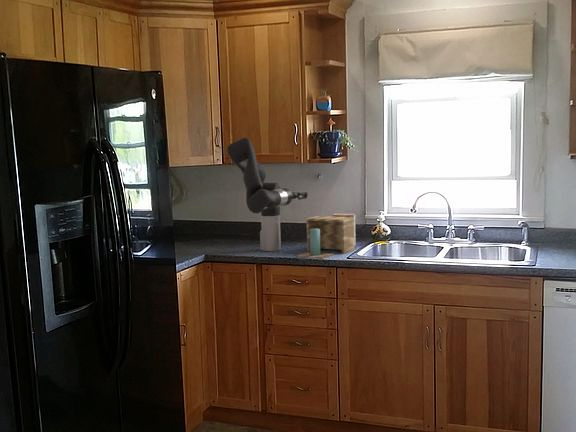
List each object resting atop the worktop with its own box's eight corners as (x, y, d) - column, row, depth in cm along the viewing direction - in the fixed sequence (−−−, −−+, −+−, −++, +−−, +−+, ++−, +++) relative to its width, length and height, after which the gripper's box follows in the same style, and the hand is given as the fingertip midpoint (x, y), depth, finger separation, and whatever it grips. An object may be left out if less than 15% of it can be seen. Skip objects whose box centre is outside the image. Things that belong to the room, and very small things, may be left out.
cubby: (307, 251, 343) (306, 218, 342) (318, 247, 353) (317, 215, 351) (344, 253, 333) (343, 220, 331) (354, 250, 343) (353, 217, 341)
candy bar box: (332, 247, 354) (331, 214, 353) (334, 245, 359) (333, 213, 357) (354, 247, 351) (353, 214, 350) (356, 245, 356) (355, 213, 354)
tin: (308, 255, 329) (307, 229, 328) (313, 253, 333) (312, 228, 332) (317, 255, 326) (316, 230, 325) (322, 254, 330) (321, 228, 329)
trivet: (295, 256, 328) (295, 255, 328) (308, 252, 339) (308, 251, 338) (322, 258, 321) (322, 257, 321) (334, 254, 331) (334, 253, 331)
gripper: (293, 189, 300) (312, 186, 314) (265, 188, 307) (284, 185, 321) (294, 206, 301) (312, 202, 314) (265, 205, 308) (284, 202, 322)
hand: (298, 194), depth 318 cm, fingers open, 8 cm apart
